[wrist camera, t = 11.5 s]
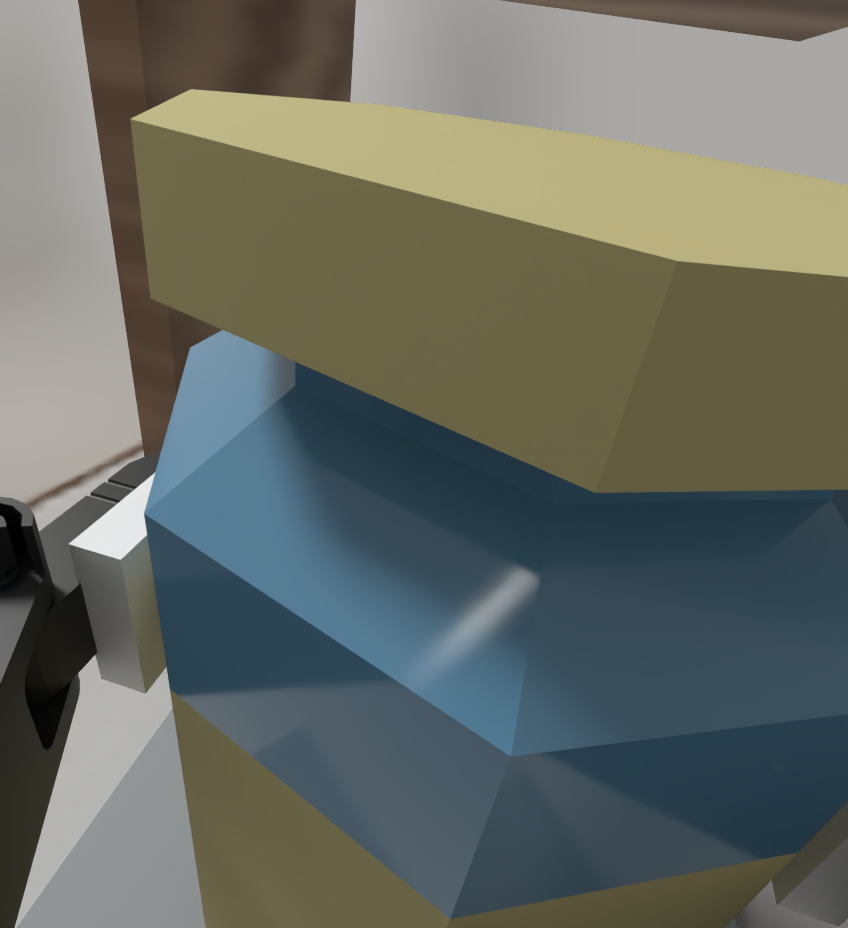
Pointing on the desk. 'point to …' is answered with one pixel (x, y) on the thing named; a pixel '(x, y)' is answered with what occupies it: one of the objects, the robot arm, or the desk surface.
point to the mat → (133, 854)
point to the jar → (495, 516)
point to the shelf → (287, 75)
